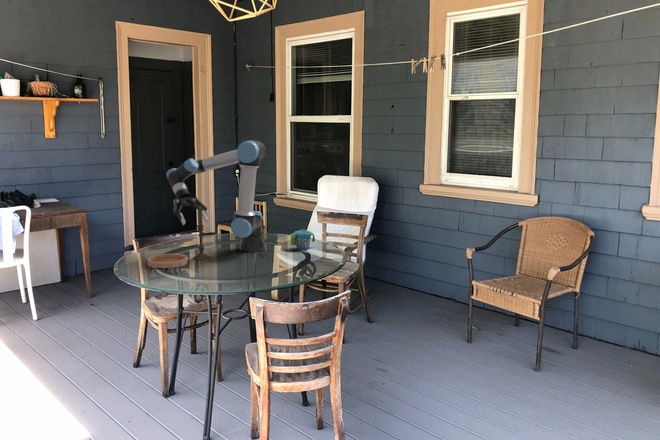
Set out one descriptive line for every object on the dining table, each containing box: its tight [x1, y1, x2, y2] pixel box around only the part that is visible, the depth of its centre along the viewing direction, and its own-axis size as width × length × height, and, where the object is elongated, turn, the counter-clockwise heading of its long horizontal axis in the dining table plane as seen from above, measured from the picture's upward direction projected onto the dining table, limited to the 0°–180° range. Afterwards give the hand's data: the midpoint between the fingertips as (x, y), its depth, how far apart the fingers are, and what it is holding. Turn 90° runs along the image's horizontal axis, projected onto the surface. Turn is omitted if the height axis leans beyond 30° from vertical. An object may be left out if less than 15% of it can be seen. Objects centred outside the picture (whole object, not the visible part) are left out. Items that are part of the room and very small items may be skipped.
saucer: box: [147, 253, 188, 270], centre depth 279 cm, size 20×20×3 cm
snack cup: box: [290, 230, 316, 250], centre depth 316 cm, size 16×10×10 cm
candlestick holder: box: [192, 206, 211, 261], centre depth 288 cm, size 9×9×30 cm
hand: (195, 222), depth 290 cm, fingers open, 13 cm apart
